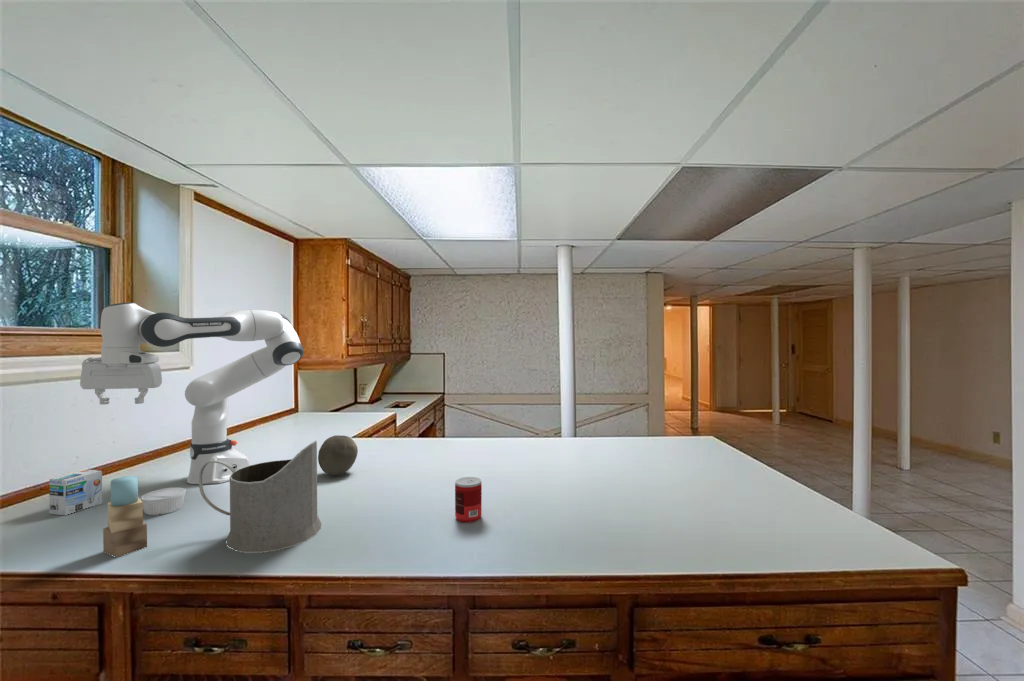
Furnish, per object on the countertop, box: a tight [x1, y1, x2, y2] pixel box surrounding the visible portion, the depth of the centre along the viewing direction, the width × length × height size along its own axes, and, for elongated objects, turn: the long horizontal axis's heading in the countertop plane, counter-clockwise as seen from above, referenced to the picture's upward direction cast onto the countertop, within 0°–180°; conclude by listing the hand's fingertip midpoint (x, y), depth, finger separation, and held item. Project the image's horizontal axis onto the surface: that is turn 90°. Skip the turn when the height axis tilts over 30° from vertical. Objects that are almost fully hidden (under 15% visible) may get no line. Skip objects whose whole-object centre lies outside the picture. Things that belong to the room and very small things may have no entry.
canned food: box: [454, 476, 483, 524], centre depth 136 cm, size 8×8×11 cm
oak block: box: [107, 496, 144, 533], centre depth 116 cm, size 6×6×6 cm
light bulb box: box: [48, 469, 103, 516], centre depth 144 cm, size 11×7×11 cm, turn 168°
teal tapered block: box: [110, 475, 139, 507], centre depth 116 cm, size 5×5×6 cm
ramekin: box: [139, 487, 187, 516], centre depth 143 cm, size 11×11×5 cm
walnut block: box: [102, 522, 148, 558], centre depth 116 cm, size 6×6×6 cm
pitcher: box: [198, 440, 323, 554], centre depth 126 cm, size 23×32×25 cm
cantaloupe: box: [317, 435, 359, 477], centre depth 179 cm, size 14×14×15 cm
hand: (122, 403), depth 137 cm, fingers open, 8 cm apart
